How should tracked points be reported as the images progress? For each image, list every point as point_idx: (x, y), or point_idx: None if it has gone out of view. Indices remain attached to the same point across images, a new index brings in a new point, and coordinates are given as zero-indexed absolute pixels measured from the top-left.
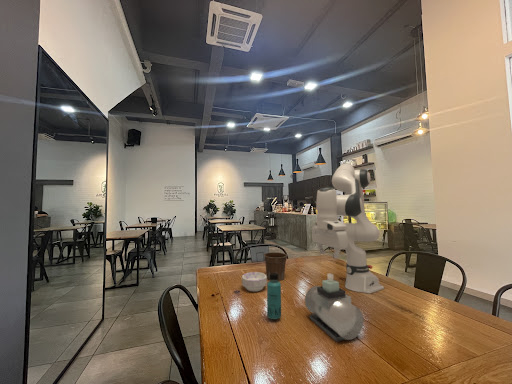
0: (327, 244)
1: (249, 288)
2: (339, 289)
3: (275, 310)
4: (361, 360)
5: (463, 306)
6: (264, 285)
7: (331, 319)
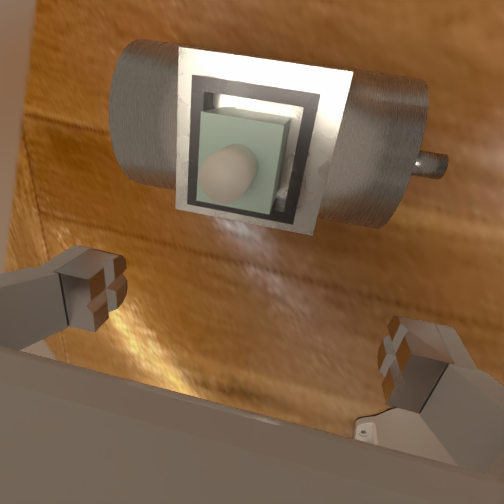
0: (38, 391)
1: None
2: None
3: None
4: (100, 61)
5: None
6: None
7: (180, 44)
